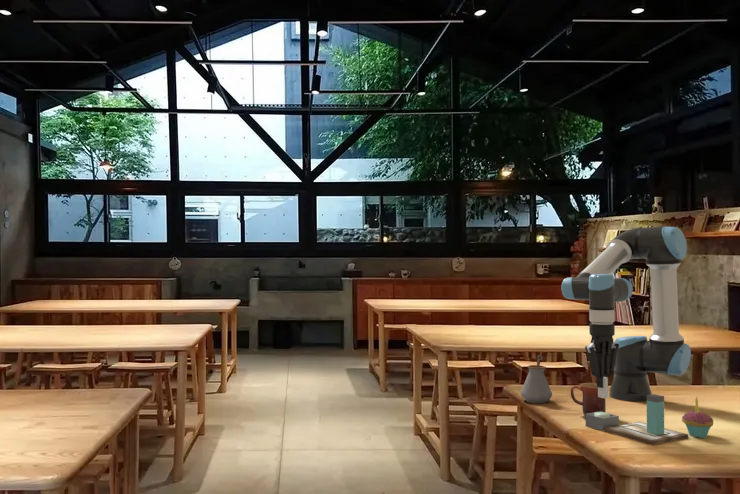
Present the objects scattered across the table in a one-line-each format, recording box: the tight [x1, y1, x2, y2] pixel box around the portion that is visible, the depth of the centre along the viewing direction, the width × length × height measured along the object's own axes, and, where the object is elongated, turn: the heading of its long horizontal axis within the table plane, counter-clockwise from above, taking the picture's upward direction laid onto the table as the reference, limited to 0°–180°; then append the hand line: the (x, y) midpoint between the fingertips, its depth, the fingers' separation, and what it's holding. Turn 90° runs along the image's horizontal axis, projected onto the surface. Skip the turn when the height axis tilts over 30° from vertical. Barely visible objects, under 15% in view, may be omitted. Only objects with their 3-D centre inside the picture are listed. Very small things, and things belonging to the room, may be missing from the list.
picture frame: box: [604, 421, 689, 446], centre depth 197 cm, size 16×17×1 cm
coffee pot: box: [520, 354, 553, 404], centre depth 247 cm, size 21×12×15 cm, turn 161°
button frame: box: [585, 411, 620, 432], centre depth 206 cm, size 7×7×4 cm
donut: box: [681, 396, 714, 439], centre depth 197 cm, size 9×8×12 cm
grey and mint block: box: [646, 393, 665, 435], centre depth 194 cm, size 3×3×11 cm
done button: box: [594, 411, 611, 418], centre depth 206 cm, size 5×5×4 cm
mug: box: [570, 382, 607, 417], centre depth 221 cm, size 12×9×10 cm
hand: (603, 397), depth 206 cm, fingers closed
